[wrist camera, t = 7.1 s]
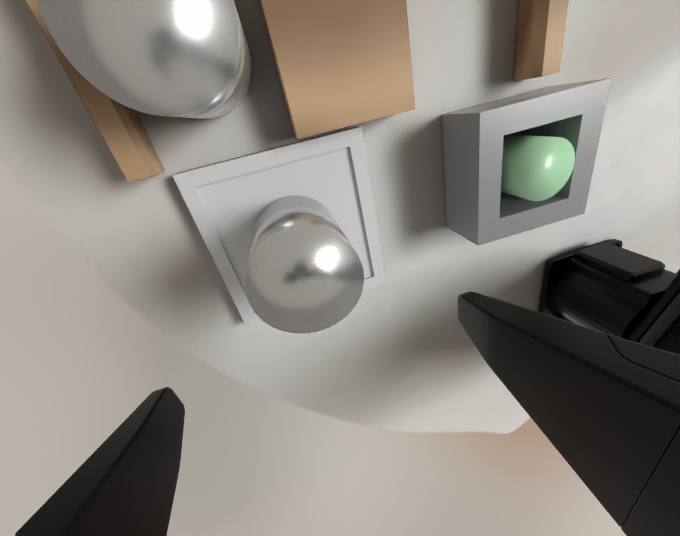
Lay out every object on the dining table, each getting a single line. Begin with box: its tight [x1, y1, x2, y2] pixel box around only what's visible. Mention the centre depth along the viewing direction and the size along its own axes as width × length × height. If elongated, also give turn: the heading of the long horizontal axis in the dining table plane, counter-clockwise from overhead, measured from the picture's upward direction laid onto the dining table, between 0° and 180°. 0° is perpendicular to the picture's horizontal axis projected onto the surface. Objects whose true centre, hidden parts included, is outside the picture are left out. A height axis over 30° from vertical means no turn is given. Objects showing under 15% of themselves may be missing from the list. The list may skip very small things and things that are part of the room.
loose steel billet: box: [245, 195, 364, 333], centre depth 15 cm, size 5×5×6 cm
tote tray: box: [172, 127, 387, 326], centre depth 18 cm, size 10×10×1 cm
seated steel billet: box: [36, 0, 252, 119], centre depth 11 cm, size 5×5×6 cm
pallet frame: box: [26, 0, 568, 183], centre depth 13 cm, size 10×22×2 cm, turn 102°
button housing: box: [442, 78, 611, 245], centre depth 17 cm, size 7×7×4 cm
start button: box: [501, 135, 575, 201], centre depth 16 cm, size 3×3×3 cm
